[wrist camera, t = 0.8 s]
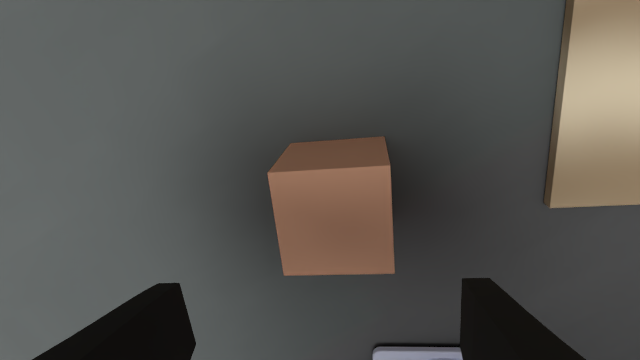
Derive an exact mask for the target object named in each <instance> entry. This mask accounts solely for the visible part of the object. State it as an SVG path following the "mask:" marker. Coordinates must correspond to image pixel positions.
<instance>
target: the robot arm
mask: <svg viewBox="0 0 640 360" xmlns="http://www.w3.org/2000/svg"><path fill="white" fill-rule="evenodd" d="M195 346H196V342H195V338H194V334H193V331H192V327H191V323H190V320H189V316H188V313H187V309H186V305H185V302H184V298H183V294H182V291H181V287H180V283H158V284H156V285H154V286H152V287H151V288H149V289H147V290H145V291H143V292H142V293H140V294H138V295H137V296H135V297H133V298H132V299H130V300H128V301H127V302H125V303H124V304H122V305H120V306H119V307H117V308H116V309H114V310H112V311H111V312H109V313H108V314H106V315H105V316H103V317H101V318H100V319H98V320H97V321H95V322H93V323H92V324H90V325H89V326H87V327H85V328H84V329H82V330H81V331H79V332H77V333H76V334H74V335H73V336H71V337H69V338H68V339H66V340H64V341H63V342H61V343H59V344H58V345H56V346H54V347H53V348H51V349H49V350H47V351H46V352H44V353H42V354H41V355H39V356H37V357H36V358H34V359H32V360H190V359H191V356H192V354H193V351H194V348H195ZM373 360H586V359H584V358H583V357H582V356H581V355H579V354H578V353H577V352H576V351H574V350H573V349H572V348H571V347H569V346H568V345H567V344H566V343H564V342H563V341H562V340H561V339H559V338H558V337H557V336H556V335H555V334H553V333H552V332H551V331H550V330H549V329H547V328H546V327H545V326H544V325H543V324H541V323H540V322H539V321H538V320H537V319H536V318H534V317H533V316H532V315H531V314H530V313H529V312H527V311H526V310H525V309H524V308H523V307H522V306H521V305H519V304H518V303H517V302H516V301H515V300H514V299H513V298H512V297H510V296H509V295H508V294H507V293H506V292H505V291H504V290H503V289H501V288H500V287H499V286H498V285H497V284H496V283H495V282H493V281H492V280H491V279H490V278H462V298H461V328H460V347H377V348H375V349H374V350H373Z"/></svg>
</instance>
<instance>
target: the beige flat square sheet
mask: <svg viewBox="0 0 640 360" xmlns="http://www.w3.org/2000/svg"><path fill="white" fill-rule="evenodd" d="M544 203H545V204H546V205H547V206H548V207H549V208H564V207H588V206H611V205H635V204H640V0H566V9H565V18H564V27H563V36H562V44H561V53H560V62H559V71H558V80H557V89H556V98H555V107H554V116H553V125H552V134H551V143H550V152H549V161H548V170H547V178H546V187H545V196H544Z"/></svg>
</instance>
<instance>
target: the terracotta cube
mask: <svg viewBox="0 0 640 360" xmlns="http://www.w3.org/2000/svg"><path fill="white" fill-rule="evenodd" d="M267 174H268V180H269V186H270V193H271V199H272V205H273V211H274V217H275V224H276V230H277V236H278V242H279V248H280V255H281V261H282V267H283V273H284V276H292V275H348V274H395V268H394V243H393V219H392V194H391V169H390V161H389V156H388V151H387V146H386V142H385V137H384V136H383V137H369V138H356V139H342V140H328V141H315V142H301V143H290V145H289V146H288V147H287V149H286V150H285V151H284V152H283V154H282V155H281V156H280V157H279V159H278V160H277V161H276V163H275V164H274V165H273V166H272V168H271V169H270V170H269V171H268V173H267Z"/></svg>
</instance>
